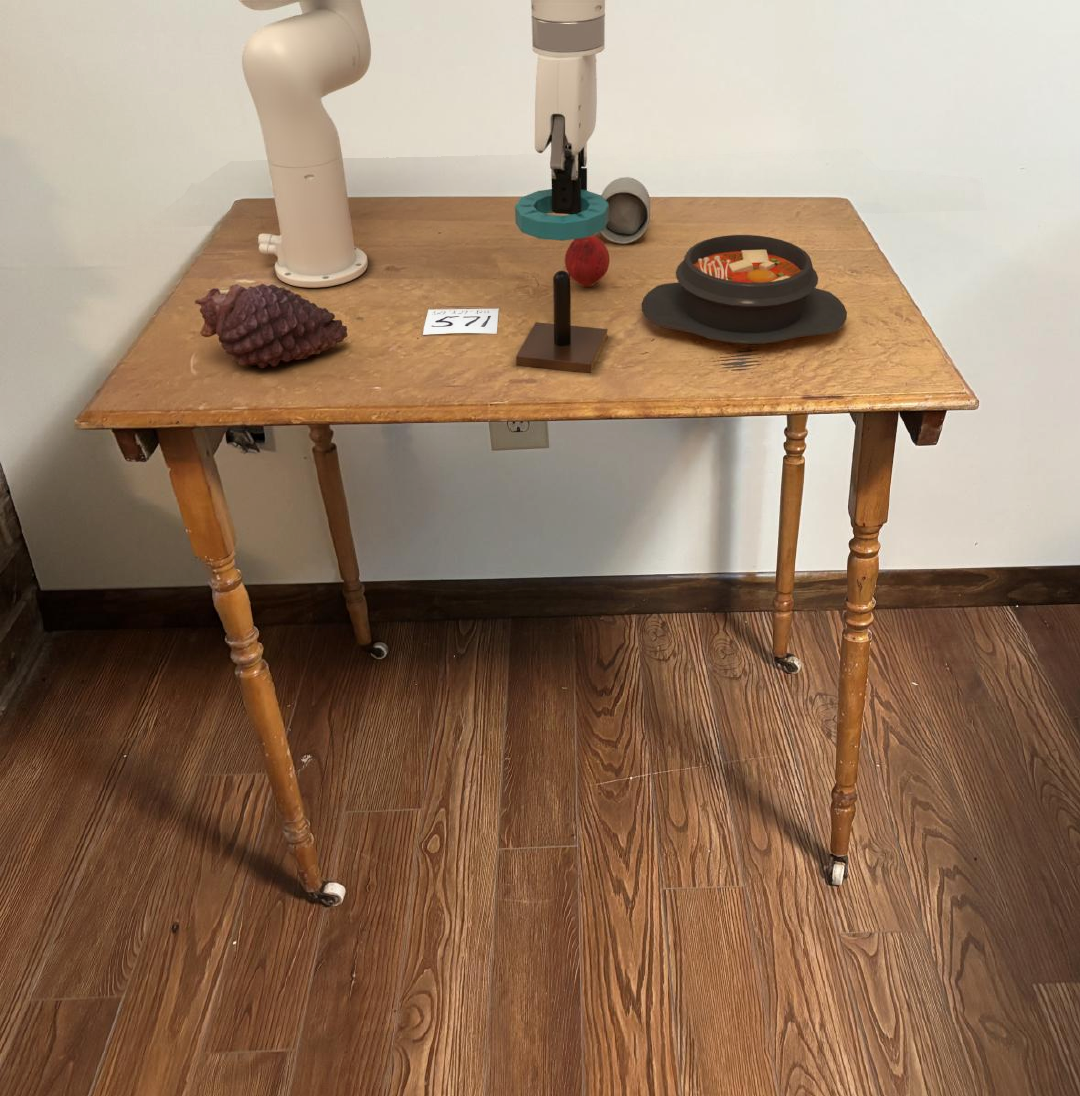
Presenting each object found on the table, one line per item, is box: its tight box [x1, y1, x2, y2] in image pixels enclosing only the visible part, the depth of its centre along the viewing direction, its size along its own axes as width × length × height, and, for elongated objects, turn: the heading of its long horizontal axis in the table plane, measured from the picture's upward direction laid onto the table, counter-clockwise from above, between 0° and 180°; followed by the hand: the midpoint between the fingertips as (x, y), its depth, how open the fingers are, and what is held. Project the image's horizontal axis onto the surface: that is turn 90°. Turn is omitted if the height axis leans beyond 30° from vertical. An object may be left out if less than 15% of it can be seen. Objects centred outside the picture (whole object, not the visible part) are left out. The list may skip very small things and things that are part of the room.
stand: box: [515, 270, 608, 374], centre depth 128 cm, size 9×9×10 cm
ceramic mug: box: [599, 176, 651, 245], centre depth 157 cm, size 11×8×8 cm
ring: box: [514, 188, 609, 242], centre depth 121 cm, size 10×10×2 cm
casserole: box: [641, 234, 848, 345], centre depth 134 cm, size 25×19×8 cm
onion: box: [564, 234, 611, 288], centre depth 143 cm, size 6×6×8 cm
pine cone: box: [194, 283, 348, 369], centre depth 129 cm, size 18×10×10 cm
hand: (569, 206), depth 124 cm, fingers closed on ring, 2 cm apart
